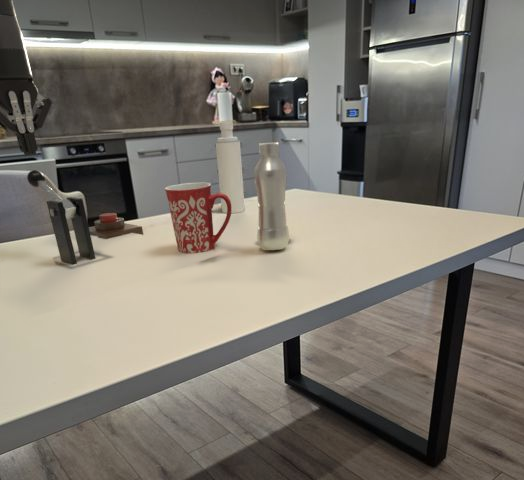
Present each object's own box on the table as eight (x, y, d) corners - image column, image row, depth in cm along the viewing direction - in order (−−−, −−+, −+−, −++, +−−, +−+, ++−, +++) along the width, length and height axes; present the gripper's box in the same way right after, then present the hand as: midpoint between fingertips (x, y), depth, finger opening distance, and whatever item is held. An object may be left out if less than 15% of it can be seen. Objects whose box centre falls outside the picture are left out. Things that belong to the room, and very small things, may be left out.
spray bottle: (244, 212, 135) (237, 114, 124) (221, 214, 135) (211, 115, 124) (245, 208, 141) (238, 114, 130) (222, 209, 141) (213, 115, 130)
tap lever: (24, 183, 95) (23, 168, 93) (40, 180, 97) (39, 166, 95) (62, 222, 90) (62, 207, 88) (78, 219, 92) (78, 204, 90)
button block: (81, 238, 118) (77, 221, 116) (116, 230, 124) (113, 214, 123) (107, 244, 111) (104, 227, 109) (143, 235, 117) (140, 218, 115)
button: (97, 222, 116) (96, 215, 115) (112, 219, 118) (110, 212, 118) (106, 224, 113) (104, 216, 113) (121, 221, 116) (119, 213, 115)
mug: (167, 260, 95) (156, 190, 89) (182, 248, 103) (174, 183, 97) (229, 260, 93) (222, 187, 86) (239, 248, 100) (234, 180, 94)
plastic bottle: (252, 253, 96) (245, 145, 87) (265, 244, 102) (259, 142, 93) (282, 254, 94) (278, 144, 85) (294, 245, 100) (291, 141, 91)
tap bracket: (49, 267, 96) (31, 201, 90) (85, 257, 101) (71, 194, 95) (74, 275, 90) (56, 205, 84) (111, 264, 95) (97, 198, 89)
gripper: (30, 52, 91) (53, 151, 99) (-46, 50, 83) (-13, 158, 90) (48, 47, 86) (71, 151, 94) (-30, 44, 78) (3, 158, 86)
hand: (30, 154), depth 92 cm, fingers closed
